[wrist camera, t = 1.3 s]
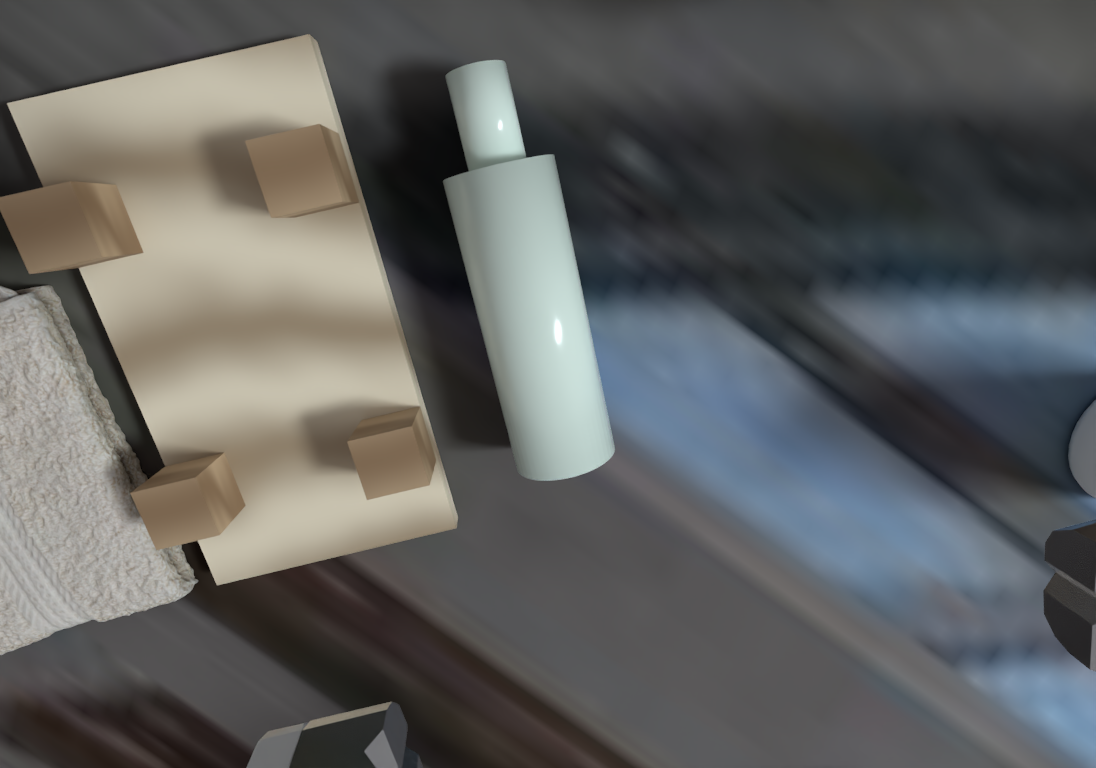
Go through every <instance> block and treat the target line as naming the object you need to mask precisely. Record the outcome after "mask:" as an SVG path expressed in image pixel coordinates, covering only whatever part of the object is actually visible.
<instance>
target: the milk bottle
mask: <svg viewBox="0 0 1096 768" xmlns="http://www.w3.org/2000/svg"><path fill="white" fill-rule="evenodd" d="M1068 459H1069V466H1070V469H1071V472H1072V474H1073V477H1074V478H1075V479H1076V481H1077V482H1078V483H1079V485H1080V486H1081V487H1082V488H1083V490H1084V491H1086V492H1087V493H1088V494H1089V495H1091V496H1092V497H1094V498H1096V400H1095V401H1093V403H1092V404H1091V405H1090V406H1089V407H1088V408H1087V409H1086V410H1085V411H1084V413H1083V414H1082V416H1081V418H1080V419H1079V420H1078V422H1077V424H1076V426H1075V428H1074V431H1073V433H1072V435H1071V440H1070V443H1069V452H1068Z"/></svg>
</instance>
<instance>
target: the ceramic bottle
mask: <svg viewBox="0 0 1096 768" xmlns="http://www.w3.org/2000/svg"><path fill="white" fill-rule="evenodd" d="M445 77H446V81H447V85H448V90H449V94H450V98H451V102H452V106H453V110H454V114H455V118H456V122H457V126H458V130H459V134H460V138H461V142H462V146H463V150H464V154H465V159H466V163H467V167H468V171H469V172H465V173H462V174H459V175H455V176H452V177H450V178H447V179H445V180H443V184H444V188H445V192H446V196H447V199H448V203H449V207H450V211H451V215H452V219H453V223H454V227H455V230H456V234H457V238H458V242H459V246H460V250H461V254H462V257H463V261H464V265H465V269H466V273H467V277H468V281H469V285H470V288H471V292H472V296H473V300H474V304H475V308H476V312H477V315H478V319H479V323H480V327H481V331H482V335H483V339H484V343H485V346H486V350H487V354H488V358H489V362H490V366H491V370H492V373H493V377H494V381H495V385H496V389H497V393H498V397H499V401H500V404H501V408H502V412H503V416H504V420H505V424H506V428H507V431H508V435H509V439H510V443H511V447H512V451H513V455H514V459H515V462H516V466H517V470H518V472H519V474H520V475H522V476H523V477H525V478H528V479H532V480H540V481H551V480H560V479H566V478H571V477H575V476H578V475H581V474H584V473H587V472H589V471H592V470H594V469H596V468H598V467H599V466H601V465H603V464H604V463H606V462H607V461H608V460H609V459H610V458H611V457H612V455H613V454H614V451H615V446H614V442H613V437H612V432H611V427H610V422H609V417H608V413H607V408H606V403H605V398H604V393H603V389H602V384H601V379H600V374H599V369H598V364H597V360H596V355H595V350H594V345H593V340H592V335H591V331H590V326H589V321H588V316H587V311H586V307H585V302H584V297H583V292H582V287H581V282H580V278H579V273H578V268H577V263H576V258H575V253H574V249H573V244H572V239H571V234H570V229H569V225H568V220H567V215H566V210H565V205H564V200H563V196H562V191H561V186H560V181H559V176H558V171H557V167H556V162H555V157H554V155H542V156H535V157H529V158H526V153H525V149H524V144H523V140H522V135H521V131H520V126H519V122H518V117H517V112H516V108H515V103H514V99H513V94H512V90H511V85H510V81H509V76H508V71H507V67H506V62H504V61H502V60H488V61H481V62H476V63H472V64H468V65H465V66H462V67H459V68H456V69H454V70H452V71H450V72H449V73H447V74H446V76H445Z"/></svg>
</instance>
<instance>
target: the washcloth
mask: <svg viewBox="0 0 1096 768" xmlns="http://www.w3.org/2000/svg"><path fill="white" fill-rule="evenodd" d="M114 419H115V418H114V414H113V413H112V411H111V409H110V406H109V403H108V400H107V399H106V398H104V396H103V395H102V394H101V391H100V389H99V387H98V385H97V384H96V381H95V379H94V375H93V371H92V369H91V368H90V367H89V366H88V364H87V362H86V357H85V355H84V353H83V350H82V348H81V346H80V345H79V343H78V339H77V338H76V334H75V332H74V331H73V329H72V328H71V325H70V321H69V318H68V316H67V315H66V313H65V311H64V309H63V307H62V304H61V299H60V298H59V296H58V295H57V294H56V293H55V291H54V289H53V287H52V286H50V285H45V286H39V287H33V288H28V289H22V290H17V291H13V290H11V289H9V288H5V287H2V286H0V655H3V654H4V653H6V652H9V651H13V650H15V649H18V648H20V647H23V646H26V645H30V644H31V643H32V642H37V641H39V640H41V639H43V638H46V637H48V636H50V635H51V634H53V633H54V632H55V631H59V630H62V629H65V628H70V627H73V626H76V625H77V624H82V623H85V622H87V621H90V620H97V621H98V622H104V621H107V620H111V619H114V618H117V617H121V616H124V615H128V616H130V614H132V613H134V612H140V611H142V610H143V611H146V610H147V609H150V608H153V607H155V606H158V605H163V604H167V603H170V602H172V601H176V600H178V599H181V598H182V597H184V596H185V595H187V594H188V593H189V592H190V591H191V590H192V589H193V586H194V584H196V583H197V582H198V580H197V579H194V578H195V576H194V575H193V572H194V571H193V569H192V568H190V565H189V564H188V563H187V561H186V558H185V555H184V552H183V551H182V550H181V548H182V545H177V546H173V547H168V548H164V549H160V550H156V548H155V546H154V544H153V542H152V540H151V537H150V535H149V533H148V531H147V529H146V527H145V524H144V522H143V520H142V518H141V516H140V513H139V511H138V509H137V507H136V505H135V503H134V500H133V498H132V496H131V494H130V493H131V492H132V491H133V490H135V489H136V488H137V487H139V486H140V485H141V484H143V483H144V482H145V481H147V480H148V478H147V475H146V474H144V473H143V472H142V470H141V467H140V464H139V463H140V461H139V459H138V458H136V453H134V452H133V451H132V447H131V446H130V445H129V443H127V442H126V439H125V434H124V433H123V432H122V431H121V429H120V427H119V426H118V425H117V424H116V423H115V421H114Z"/></svg>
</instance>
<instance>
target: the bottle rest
mask: <svg viewBox="0 0 1096 768" xmlns="http://www.w3.org/2000/svg"><path fill="white" fill-rule="evenodd" d="M7 105H8V107H9V110H10V112H11V114H12V116H13V119H14V121H15V123H16V126H17V128H18V130H19V132H20V135H21V137H22V139H23V142H24V144H25V146H26V149H27V151H28V153H29V155H30V158H31V160H32V162H33V165H34V167H35V169H36V171H37V174H38V176H39V178H40V181H41V183H42V185H43V188H38V189H34V190H30V191H25V192H21V193H17V194H12V195H8V196H4V197H0V211H1V214H2V216H3V218H4V220H5V222H6V224H7V227H8V229H9V231H10V233H11V235H12V237H13V240H14V242H15V244H16V246H17V248H18V250H19V253H20V255H21V257H22V259H23V261H24V264H25V266H26V268H27V270H28V272H29V274H34V273H42V272H50V271H58V270H66V269H74V268H79V270H80V272H81V275H82V277H83V279H84V281H85V284H86V286H87V288H88V291H89V293H90V295H91V298H92V300H93V302H94V304H95V307H96V309H97V311H98V314H99V316H100V318H101V320H102V323H103V325H104V327H105V330H106V332H107V334H108V337H109V339H110V341H111V343H112V346H113V348H114V350H115V353H116V355H117V357H118V359H119V362H120V364H121V366H122V369H123V371H124V373H125V375H126V378H127V380H128V382H129V385H130V387H131V389H132V392H133V394H134V396H135V398H136V401H137V403H138V405H139V408H140V410H141V412H142V414H143V417H144V419H145V421H146V424H147V426H148V428H149V430H150V433H151V435H152V437H153V440H154V442H155V444H156V447H157V449H158V451H159V453H160V456H161V458H162V460H163V463H164V465H165V467H164V468H163V469H161V470H160V471H159V472H157V473H156V474H155V475H153V476H152V477H151V478H149V479H148V480H147V481H145V482H144V483H143V484H141V485H140V486H139V487H137V488H136V489H135V490H133V491H132V492H131V493H130V494H131V496H132V498H133V500H134V503H135V505H136V507H137V509H138V511H139V513H140V516H141V518H142V520H143V522H144V524H145V527H146V529H147V531H148V533H149V535H150V537H151V540H152V542H153V544H154V546H155V548H156V550H160V549H164V548H168V547H173V546H177V545H181V544H185V543H189V542H194V541H198V543H199V545H200V547H201V550H202V552H203V554H204V557H205V559H206V561H207V563H208V566H209V568H210V570H211V573H212V575H213V577H214V580H215V582H216V584H217V585H221V584H225V583H229V582H233V581H237V580H242V579H246V578H250V577H254V576H258V575H263V574H267V573H271V572H275V571H279V570H283V569H288V568H292V567H296V566H300V565H304V564H309V563H313V562H317V561H321V560H325V559H329V558H334V557H338V556H342V555H346V554H350V553H355V552H359V551H363V550H367V549H371V548H375V547H380V546H384V545H388V544H392V543H396V542H400V541H405V540H409V539H413V538H417V537H421V536H426V535H430V534H434V533H438V532H442V531H446V530H451V529H455V528H457V521H458V516H457V512H456V509H455V506H454V502H453V499H452V495H451V492H450V489H449V485H448V482H447V479H446V475H445V472H444V468H443V465H442V462H441V458H440V455H439V451H438V448H437V445H436V441H435V438H434V435H433V431H432V428H431V424H430V421H429V418H428V414H427V411H426V408H425V404H424V401H423V397H422V394H421V391H420V387H419V384H418V381H417V377H416V374H415V370H414V367H413V364H412V360H411V357H410V353H409V350H408V347H407V343H406V340H405V337H404V333H403V330H402V326H401V323H400V320H399V316H398V313H397V310H396V306H395V303H394V299H393V296H392V293H391V289H390V286H389V283H388V279H387V276H386V272H385V269H384V266H383V262H382V259H381V255H380V252H379V249H378V245H377V242H376V239H375V235H374V232H373V228H372V225H371V222H370V218H369V215H368V212H367V208H366V205H365V201H364V198H363V195H362V191H361V188H360V185H359V181H358V178H357V174H356V171H355V168H354V164H353V161H352V157H351V154H350V151H349V147H348V144H347V141H346V137H345V134H344V130H343V127H342V124H341V120H340V117H339V114H338V110H337V107H336V103H335V100H334V97H333V93H332V90H331V87H330V83H329V80H328V76H327V73H326V70H325V66H324V63H323V59H322V56H321V53H320V49H319V46H318V43H317V41H316V40H315V39H314V38H313V37H312V36H311V35H309V34H308V35H303V36H299V37H295V38H290V39H286V40H282V41H277V42H273V43H268V44H264V45H260V46H255V47H251V48H247V49H242V50H238V51H233V52H229V53H225V54H220V55H216V56H212V57H207V58H203V59H198V60H194V61H190V62H185V63H181V64H177V65H172V66H168V67H163V68H159V69H155V70H150V71H146V72H142V73H137V74H133V75H128V76H124V77H120V78H115V79H111V80H107V81H102V82H98V83H93V84H89V85H85V86H80V87H76V88H72V89H67V90H63V91H58V92H54V93H50V94H45V95H41V96H37V97H32V98H28V99H23V100H19V101H15V102H10V103H7Z"/></svg>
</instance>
